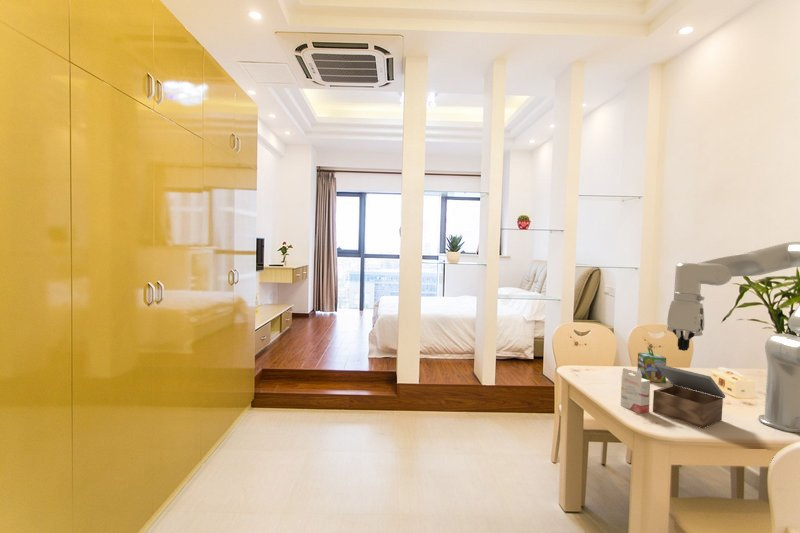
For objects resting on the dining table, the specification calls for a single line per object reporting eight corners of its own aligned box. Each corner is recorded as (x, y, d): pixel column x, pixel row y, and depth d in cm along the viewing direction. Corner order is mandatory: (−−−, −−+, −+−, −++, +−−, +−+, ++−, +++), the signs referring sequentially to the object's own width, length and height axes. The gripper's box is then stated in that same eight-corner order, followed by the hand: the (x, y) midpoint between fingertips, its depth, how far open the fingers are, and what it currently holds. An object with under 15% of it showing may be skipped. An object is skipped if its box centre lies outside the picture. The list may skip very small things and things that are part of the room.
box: (721, 420, 143) (722, 398, 143) (702, 428, 136) (703, 405, 135) (672, 405, 157) (673, 384, 156) (652, 411, 149) (653, 390, 149)
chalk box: (666, 383, 184) (667, 351, 183) (643, 381, 186) (645, 349, 185) (657, 377, 193) (659, 346, 192) (636, 375, 195) (637, 345, 194)
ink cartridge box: (649, 412, 149) (651, 372, 149) (640, 413, 147) (642, 373, 147) (628, 403, 157) (630, 366, 157) (619, 405, 155) (621, 367, 155)
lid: (724, 398, 142) (725, 395, 142) (709, 379, 136) (710, 376, 136) (671, 384, 157) (672, 381, 157) (655, 366, 150) (656, 363, 150)
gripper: (716, 300, 138) (712, 353, 139) (669, 295, 151) (665, 344, 152) (706, 301, 134) (702, 356, 135) (658, 296, 147) (655, 346, 148)
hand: (683, 349), depth 143 cm, fingers closed
